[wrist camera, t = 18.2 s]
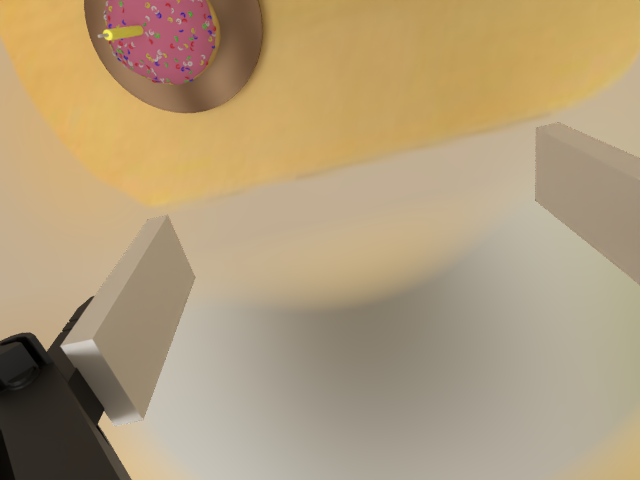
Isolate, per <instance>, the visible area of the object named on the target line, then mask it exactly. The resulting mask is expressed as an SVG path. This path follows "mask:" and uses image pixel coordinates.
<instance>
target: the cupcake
mask: <svg viewBox="0 0 640 480" xmlns="http://www.w3.org/2000/svg"><path fill="white" fill-rule="evenodd" d="M104 14H105V15H104V19H105V24H106V30H104V31H103V34H99V35H97V37H98V38H103V37H104V38H105V39H106V40H109V44H110V45H111V48H112V49H113V52H112V53H113V55H114V56H117V57H118V58H117V59H118V60H119V61H121V62H122V63H123V64H124V67H126V68H128V69H129V70H131V71H133V72H135V73H137V74H139V75H141V76H142V77H145V78H147V79H149V80H151V81H152V82H154V83H162V84H172V85H174V84H178V85H180V84H184V83H186V82H189V81H193V80H194V79H195V78H197V77H198V76H199V75H201V74H202V73H203V72H204V71H205V70H206V69H207V68H208V67H209V66H210V65H211V64H212V63H213V61H214V59H215V56H216V53H217V50H218V47H219V44H220V37H221V35H220V26H219V22H218V19H217V16H216V13H215V11H214V9H213V7H212V5H211V3H210V1H209V0H107V1H106V7H105V11H104Z"/></svg>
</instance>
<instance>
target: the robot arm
mask: <svg viewBox="0 0 640 480" xmlns="http://www.w3.org/2000/svg"><path fill="white" fill-rule="evenodd" d="M535 186H536V187H535V190H536V191H535V192H536V193H535V201H537V202H538V203H539V204H540V205H541V206H543V207H544V208H545V209H547V210H548V211H549V212H550V213H551V214H553V215H554V216H555V217H556V218H558V219H559V220H560V221H561V222H563V223H564V224H565V225H566V226H568V227H569V228H570V229H571V230H572V231H574V232H575V233H576V234H577V235H579V236H580V237H581V238H582V239H584V240H585V241H586V242H587V243H588V244H590V245H591V246H592V247H593V248H595V249H596V250H597V251H598V252H600V253H601V254H602V255H603V256H605V257H606V258H607V259H608V260H610V261H611V262H612V263H613V264H615V265H616V266H617V267H618V268H619V269H621V270H622V271H623V272H624V273H626V274H627V275H628V276H629V277H631V278H632V279H633V280H634V281H636V282H637V283H638V284H639V285H640V158H638V157H636V156H634V155H632V154H629V153H627V152H625V151H622V150H620V149H618V148H615V147H613V146H611V145H609V144H606V143H604V142H602V141H600V140H598V139H595V138H593V137H591V136H588V135H586V134H584V133H582V132H579V131H577V130H575V129H572V128H570V127H568V126H566V125H564V124H561V123H554V124H550V125H545V126H541V127H537V128H536V185H535ZM194 280H195V275H194V273H193V271H192V269H191V266H190V264H189V262H188V260H187V257H186V255H185V253H184V250H183V248H182V246H181V244H180V241H179V239H178V237H177V234H176V232H175V230H174V228H173V225H172V223H171V221H170V219H169V216H168V215H165V216H161V217H156V218H152V219H148V220H147V221H146V223H145V224H144V225H143V227H142V228H141V230H140V231H139V233H138V234H137V236H136V237H135V239H134V240H133V241H132V243H131V244H130V246H129V247H128V249H127V250H126V252H125V253H124V255H123V256H122V258H121V259H120V260H119V262H118V263H117V265H116V266H115V267H114V269H113V270H112V272H111V273H110V275H109V276H108V278H107V279H106V281H105V282H104V283H103V285H102V286H101V288H100V289H99V291H98V293H97V294H96V295H95V296H93V297H91V298H89V299H88V300H87V301H86V302H85V303H84V304H82V305H81V306H80V307H79V308H78V309H77V310H76V312H75V313H74V315H73V316H72V317H71V319H70V320H69V321H70V322H69V323H67V324H66V326H65V327H64V328H63V330H62V331H63V332H61V333H60V334H59V335H58V337H57V338H56V339H55V341H54V342H53V344H52V345H51V346H50V348H49V349H48V351H47V352H46V351H45V349H44V348H43V346H42V345H41V343H40V342H39V340H38V339H37V338H36V336H35V335H33V334H32V333H20V334H16V335H13V336H10V337H8V338H6V339H4V340H2V341H0V480H131V478H130V476H129V475H128V473H127V471H126V469H125V468H124V466H123V465H122V463H121V461H120V460H119V458H118V456H117V454H116V453H115V451H114V449H113V448H112V446H111V444H110V443H109V441H108V439H107V438H106V436H105V434H104V433H103V431H102V430H101V428H100V427H99V426H98V422H99V420H100V418H101V416H102V414H103V411H105V413H106V414H107V416H108V417H109V418H110V420H111V421H112V423H113V424H114V426H117V425H122V424H127V423H132V422H137V421H142V420H143V419H144V416H145V414H146V411H147V408H148V405H149V402H150V400H151V397H152V395H153V392H154V389H155V386H156V383H157V381H158V378H159V375H160V372H161V370H162V367H163V364H164V361H165V359H166V356H167V353H168V351H169V347H170V345H171V343H172V340H173V337H174V334H175V332H176V329H177V326H178V324H179V321H180V318H181V315H182V313H183V310H184V307H185V304H186V302H187V299H188V296H189V293H190V291H191V288H192V285H193V283H194Z"/></svg>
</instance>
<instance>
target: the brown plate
mask: <svg viewBox="0 0 640 480" xmlns="http://www.w3.org/2000/svg"><path fill="white" fill-rule="evenodd" d="M106 1H107V0H84V10H85V18H86V24H87V28H88V32H89V35H90V38H91V41H92V43H93V46H94V48H95V50H96V52H97V54H98V56H99V58H100V60H101V61H102V63H103V64H104V66H105V67H106V69H107V70H108V71H109V73H110V74H111V75H112V76H113V78H114V79H115V80H116V81H117V82H118V83H119V84H120V85H121V86H122V87H123V88H124V89H126V90H127V91H128V92H129V93H131V94H132V95H133V96H135V97H137V98H138V99H140V100H141V101H143V102H145V103H147V104H149V105H151V106H153V107H156V108H159V109H162V110H166V111H170V112H177V113H196V112H202V111H206V110H209V109H212V108H215V107H217V106H219V105H221V104H223V103H225V102H226V101H228V100H229V99H231V98H232V97H233V96H234V95H235V94H237V93H238V92H239V91H240V90H241V88H242V87H243V86H244V85H245V83H246V82H247V81H248V79H249V77H250V76H251V74H252V72H253V70H254V68H255V66H256V63H257V61H258V57H259V54H260V49H261V43H262V17H261V11H260V6H259V2H258V0H209V1H210V3H211V5H212V7H213V9H214V11H215V13H216V16H217V19H218V22H219V26H220V35H221V37H220V44H219V47H218V50H217V53H216V56H215V59H214V61H213V63H212V64H211V65H210V66H209V67H208V68H207V69H206V70H205V71H204V72H203V73H202V74H201V75H199V76H198V77H197V78H195V79H194V80H193V81H189V82H186V83H184V84H180V85H178V84H174V85H172V84H162V83H154V82H152V81H151V80H149V79H147V78H145V77H142V76H141V75H139V74H137V73H135V72H133V71H131V70H129V69H128V68H126V67H124V64H123V63H122V62H121V61H119V60H118V59H117V58H118V57H117V56H114V55H113V53H112V52H113V49H112V48H111V45H110V44H109V40H106V39H105V38H104V37H103V38H98V37H97V35H99V34H103V31H104V30H106V24H105V19H104V15H105V14H104V11H105V7H106Z"/></svg>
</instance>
